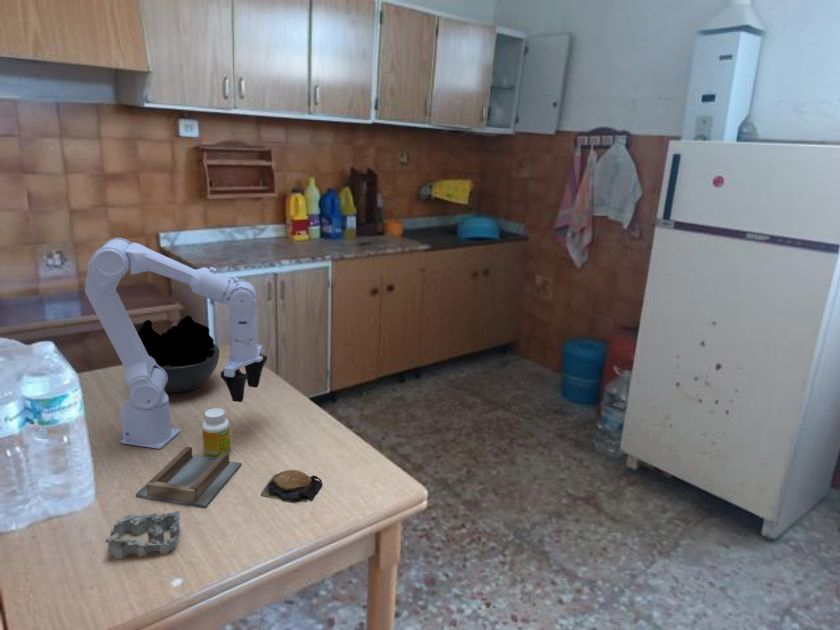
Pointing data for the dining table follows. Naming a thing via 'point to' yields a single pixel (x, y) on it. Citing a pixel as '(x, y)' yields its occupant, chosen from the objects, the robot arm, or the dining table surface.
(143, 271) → the robot arm
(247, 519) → the dining table surface
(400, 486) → the dining table surface
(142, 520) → the egg carton
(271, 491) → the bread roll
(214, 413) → the supplement bottle
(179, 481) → the cradle
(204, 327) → the bowl of black rocks
